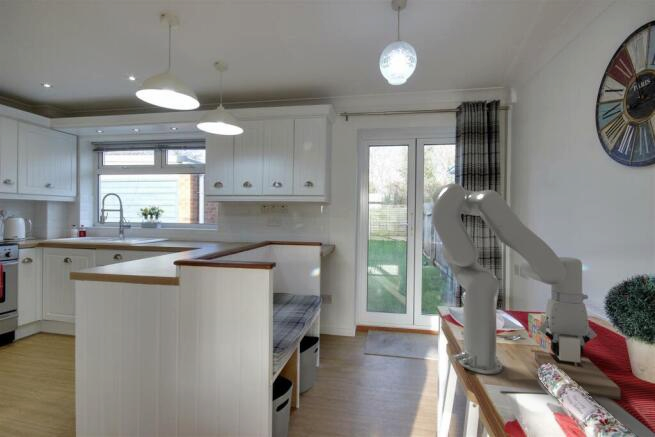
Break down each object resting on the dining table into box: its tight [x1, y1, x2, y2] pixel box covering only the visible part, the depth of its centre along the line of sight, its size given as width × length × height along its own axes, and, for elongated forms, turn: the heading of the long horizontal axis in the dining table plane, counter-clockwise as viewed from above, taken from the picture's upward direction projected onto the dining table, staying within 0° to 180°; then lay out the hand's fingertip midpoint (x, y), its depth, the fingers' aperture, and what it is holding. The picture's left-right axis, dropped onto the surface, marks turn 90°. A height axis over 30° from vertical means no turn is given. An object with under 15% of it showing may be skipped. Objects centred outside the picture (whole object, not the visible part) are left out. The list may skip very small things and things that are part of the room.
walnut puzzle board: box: [534, 350, 621, 400], centre depth 89 cm, size 18×14×3 cm
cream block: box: [557, 334, 580, 363], centre depth 93 cm, size 5×5×7 cm
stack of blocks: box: [527, 312, 553, 353], centre depth 108 cm, size 21×6×12 cm, turn 171°
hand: (566, 354), depth 93 cm, fingers closed on cream block, 5 cm apart
